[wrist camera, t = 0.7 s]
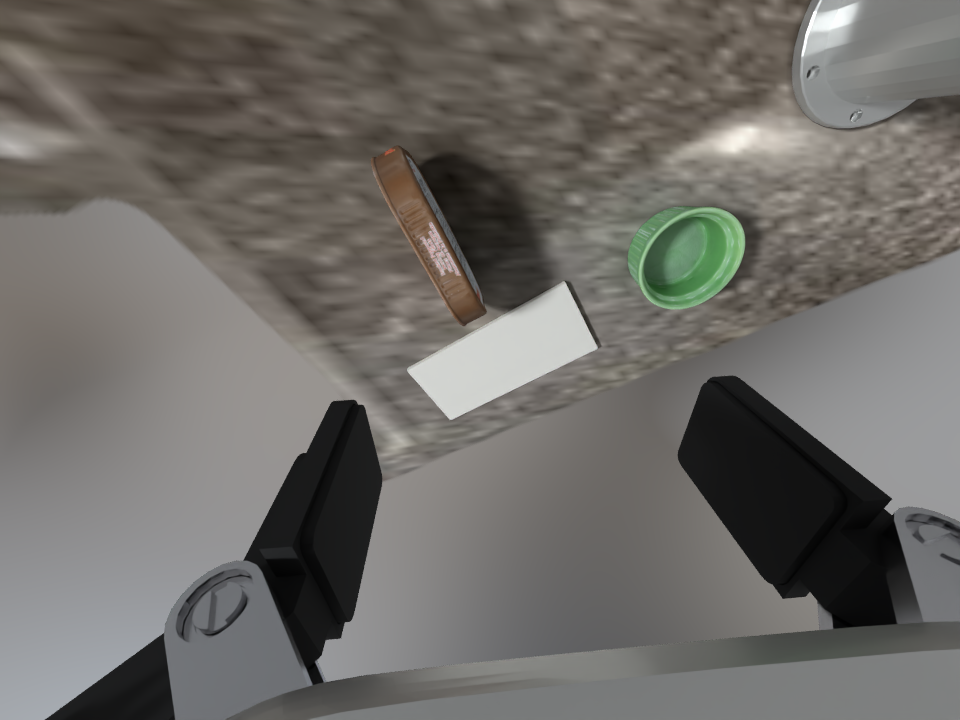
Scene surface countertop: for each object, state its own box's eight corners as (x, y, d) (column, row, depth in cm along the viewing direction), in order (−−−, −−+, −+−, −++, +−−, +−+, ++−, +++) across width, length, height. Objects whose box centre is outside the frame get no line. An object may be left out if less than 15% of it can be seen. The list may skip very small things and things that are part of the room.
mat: (564, 281, 36) (565, 282, 35) (596, 345, 40) (598, 348, 39) (407, 367, 41) (407, 370, 40) (450, 417, 45) (450, 420, 44)
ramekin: (707, 180, 31) (740, 185, 27) (721, 268, 35) (750, 282, 32) (610, 229, 33) (627, 241, 29) (634, 307, 37) (652, 325, 34)
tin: (381, 157, 30) (352, 162, 22) (413, 138, 29) (393, 137, 22) (462, 305, 37) (460, 344, 30) (489, 293, 36) (494, 330, 29)
